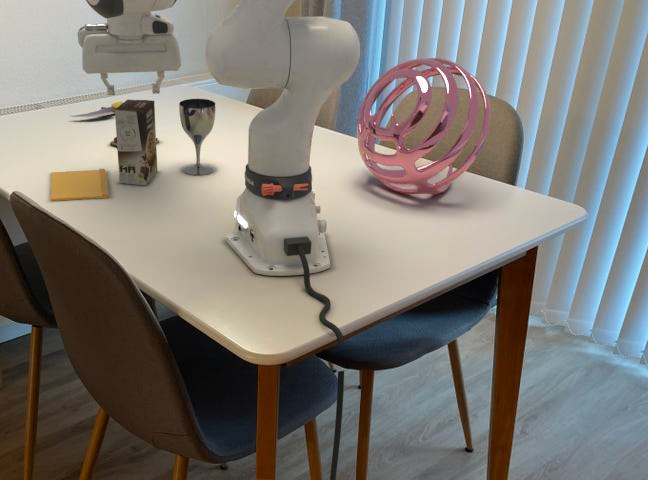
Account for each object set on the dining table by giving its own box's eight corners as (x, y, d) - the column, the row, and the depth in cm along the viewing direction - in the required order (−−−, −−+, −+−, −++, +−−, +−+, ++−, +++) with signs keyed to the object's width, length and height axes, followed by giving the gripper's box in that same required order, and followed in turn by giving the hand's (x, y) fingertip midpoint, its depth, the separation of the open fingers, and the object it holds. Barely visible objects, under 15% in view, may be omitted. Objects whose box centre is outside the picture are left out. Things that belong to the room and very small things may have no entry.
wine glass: (173, 169, 177) (171, 103, 169) (198, 161, 182) (197, 96, 174) (198, 178, 173) (197, 110, 165) (222, 169, 178) (222, 103, 169)
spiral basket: (455, 72, 177) (397, 10, 157) (540, 133, 161) (488, 73, 141) (374, 169, 187) (310, 123, 166) (446, 237, 171) (385, 194, 150)
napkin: (109, 197, 163) (108, 194, 162) (51, 201, 161) (50, 197, 160) (105, 171, 176) (105, 168, 175) (52, 174, 174) (51, 171, 173)
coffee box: (147, 186, 169) (142, 111, 160) (118, 183, 170) (113, 109, 161) (158, 171, 176) (155, 99, 167) (131, 169, 177) (127, 97, 168)
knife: (79, 126, 204) (159, 111, 217) (78, 116, 203) (158, 101, 216) (65, 119, 209) (144, 104, 222) (64, 109, 208) (143, 95, 221)
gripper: (76, 26, 151) (83, 99, 158) (180, 24, 154) (183, 95, 162) (76, 21, 156) (83, 92, 163) (177, 19, 159) (179, 88, 167)
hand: (133, 93), depth 163 cm, fingers open, 8 cm apart
